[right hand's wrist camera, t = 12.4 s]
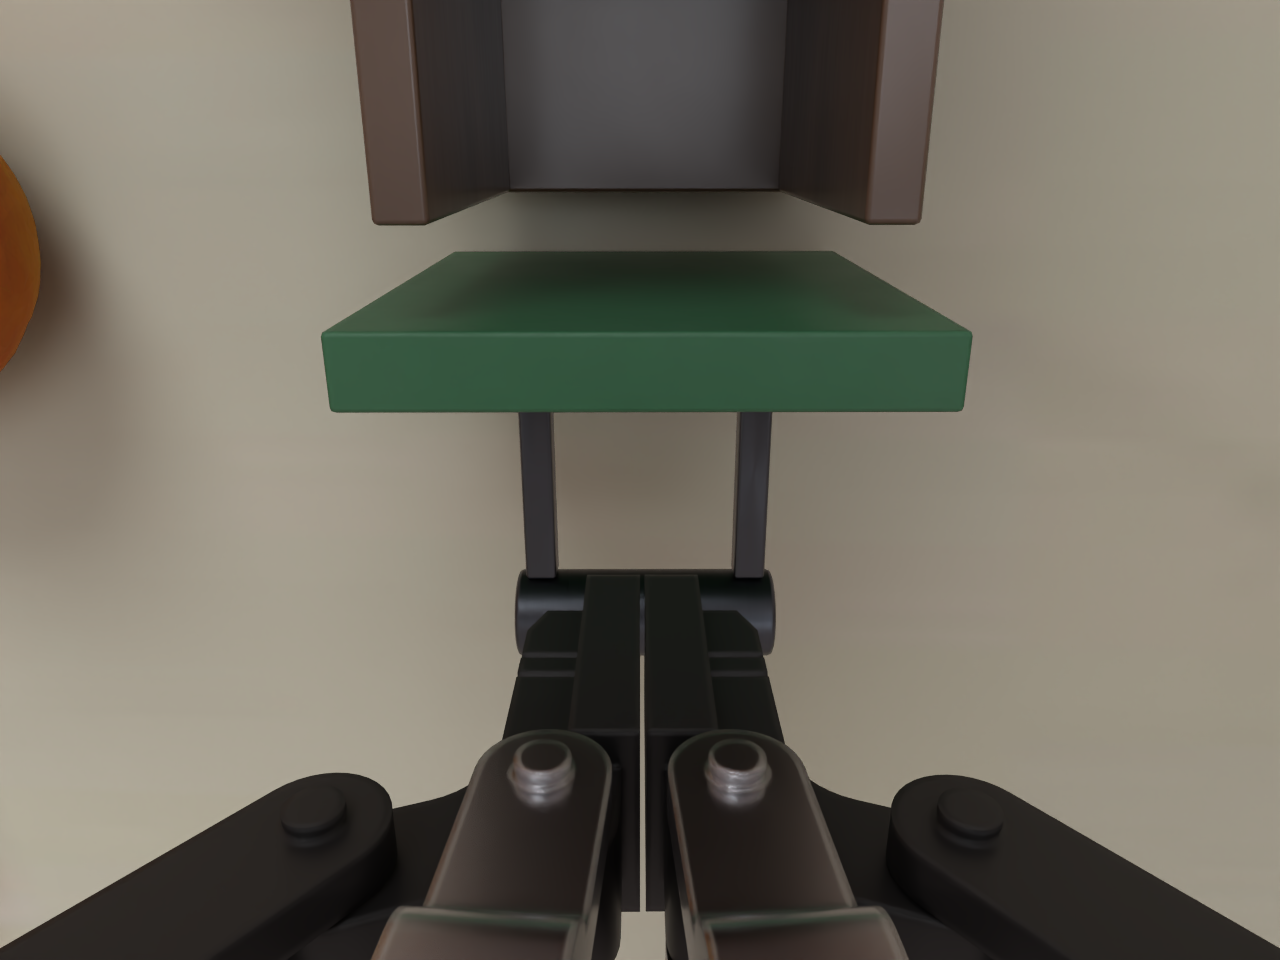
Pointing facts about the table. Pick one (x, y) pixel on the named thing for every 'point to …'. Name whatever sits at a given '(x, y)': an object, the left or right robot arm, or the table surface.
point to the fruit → (16, 263)
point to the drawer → (646, 281)
